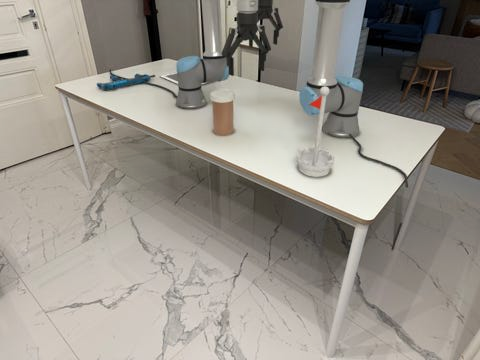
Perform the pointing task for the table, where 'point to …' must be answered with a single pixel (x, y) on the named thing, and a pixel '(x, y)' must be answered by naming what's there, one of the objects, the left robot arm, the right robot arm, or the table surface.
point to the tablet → (174, 78)
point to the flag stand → (316, 146)
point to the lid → (222, 96)
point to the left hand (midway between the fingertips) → (246, 72)
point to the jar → (223, 118)
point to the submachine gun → (123, 81)
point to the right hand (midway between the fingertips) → (263, 45)
